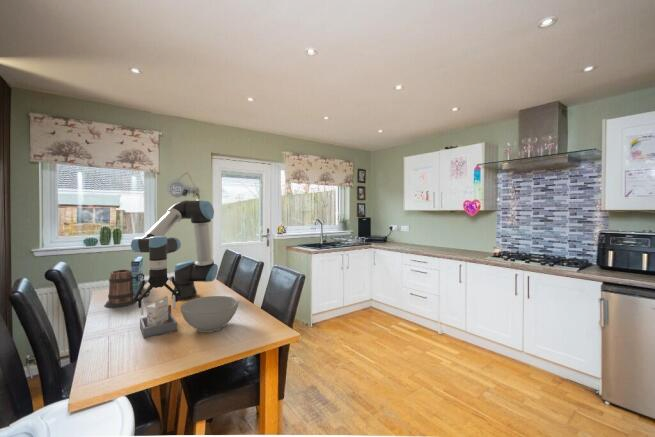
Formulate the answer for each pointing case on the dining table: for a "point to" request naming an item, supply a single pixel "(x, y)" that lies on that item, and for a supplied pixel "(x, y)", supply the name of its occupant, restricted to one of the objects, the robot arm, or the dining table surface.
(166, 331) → the bin
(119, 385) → the dining table surface
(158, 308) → the ink cartridge box
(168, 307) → the walnut block
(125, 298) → the tankard
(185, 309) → the decorative bowl
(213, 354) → the dining table surface
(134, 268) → the gum box
